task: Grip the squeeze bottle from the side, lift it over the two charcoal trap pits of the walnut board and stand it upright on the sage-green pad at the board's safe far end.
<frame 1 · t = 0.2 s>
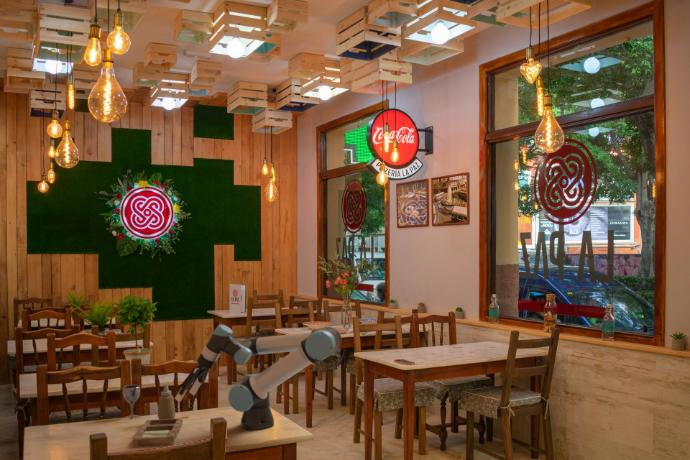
hand: (184, 396, 290), 15 cm above the table, tool tilted 35°, fingers open, 13 cm apart
squeeze bottle: (166, 422, 307), on the table
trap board: (159, 435, 285), on the table
wine glass: (132, 417, 319), on the table
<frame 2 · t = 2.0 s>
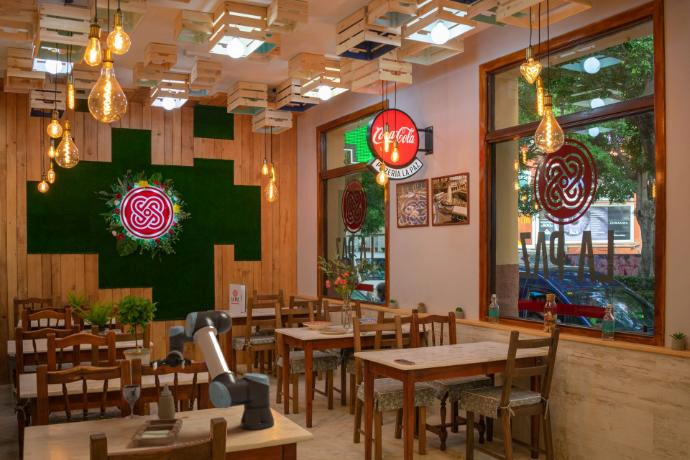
hand: (168, 366, 317), 25 cm above the table, tool horizontal, fingers open, 13 cm apart
nothing on the table moved.
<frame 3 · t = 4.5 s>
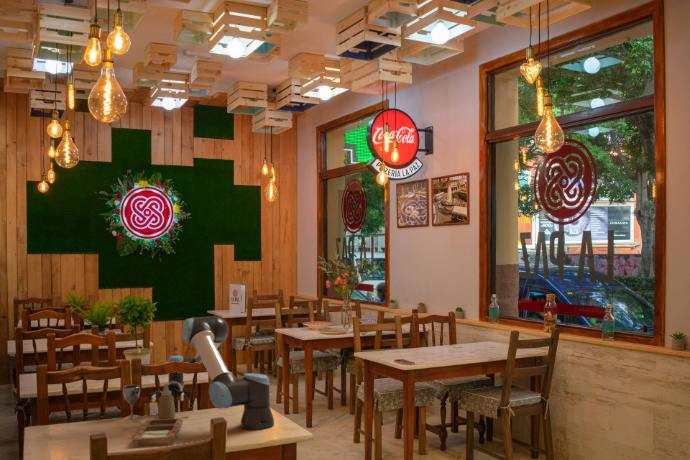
hand: (167, 399, 312), 10 cm above the table, tool horizontal, fingers open, 13 cm apart
nothing on the table moved.
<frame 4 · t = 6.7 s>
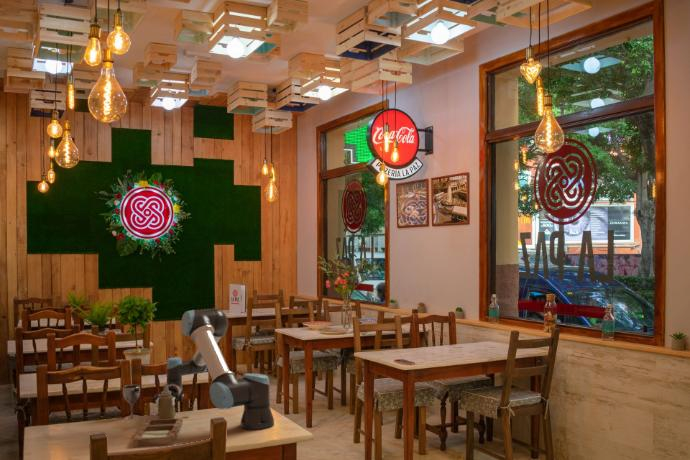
hand: (164, 403, 302), 10 cm above the table, tool horizontal, fingers closed on squeeze bottle, 6 cm apart
squeeze bottle: (166, 422, 307), on the table, touching gripper
everything else where it was.
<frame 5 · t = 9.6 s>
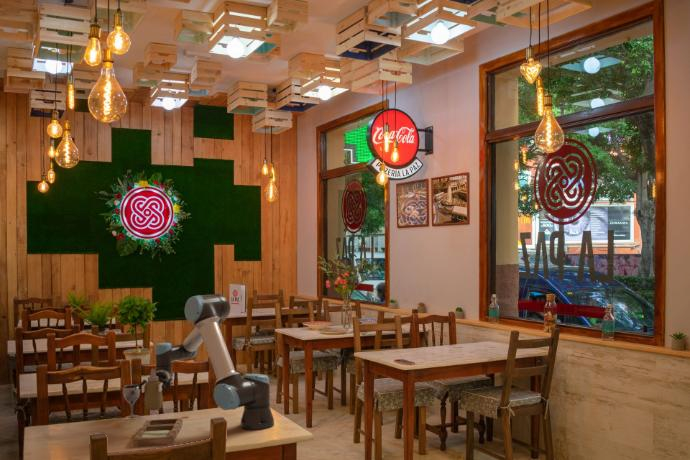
hand: (151, 389, 286), 20 cm above the table, tool horizontal, fingers closed on squeeze bottle, 6 cm apart
squeeze bottle: (153, 409, 290), point 10 cm above the table, touching gripper
everything else where it was.
when the fingers open (15 cm above the table, at t = 12.4 s): squeeze bottle drops 1 cm, resting on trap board.
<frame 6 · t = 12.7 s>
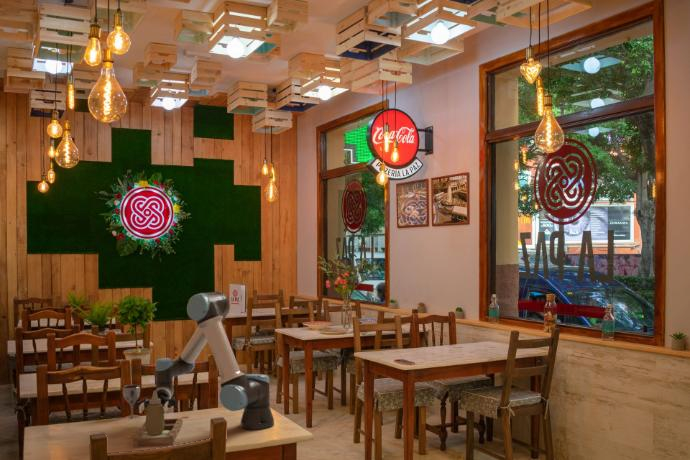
hand: (152, 408, 271), 15 cm above the table, tool horizontal, fingers open, 9 cm apart
squeeze bottle: (155, 434, 275), point 3 cm above the table, touching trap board
everything else where it was.
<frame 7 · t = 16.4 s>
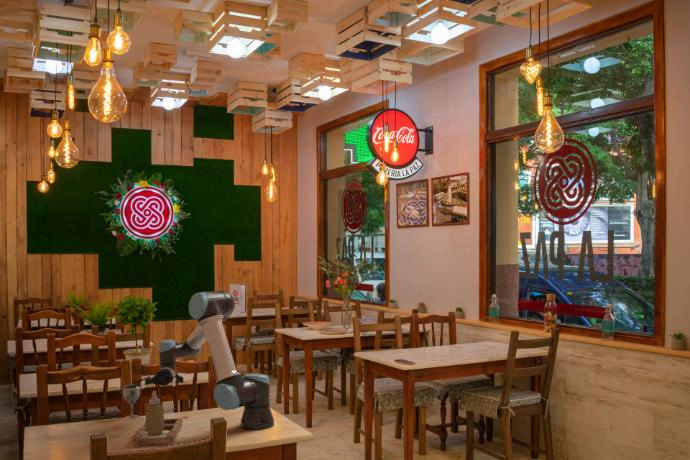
hand: (157, 384, 285), 22 cm above the table, tool horizontal, fingers open, 13 cm apart
nothing on the table moved.
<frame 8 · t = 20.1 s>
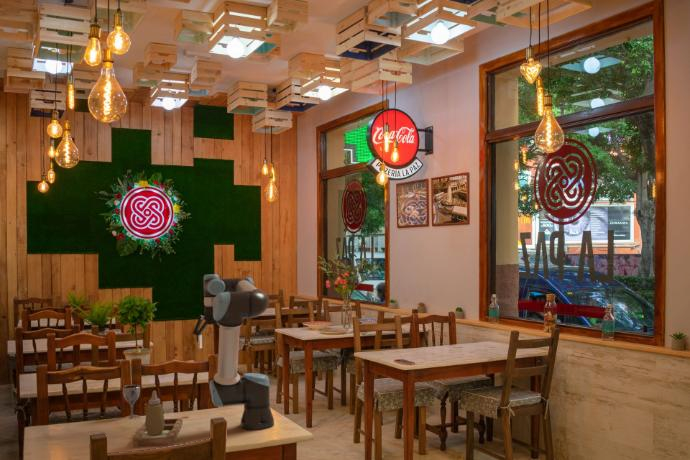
hand: (213, 348, 323), 32 cm above the table, tool pointing down, fingers open, 13 cm apart
nothing on the table moved.
at the end: squeeze bottle inside the target area on the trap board (0.0 cm from its centre), point 3.1 cm above the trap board's base; squeeze bottle tilted 0°; the gripper is holding nothing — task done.
